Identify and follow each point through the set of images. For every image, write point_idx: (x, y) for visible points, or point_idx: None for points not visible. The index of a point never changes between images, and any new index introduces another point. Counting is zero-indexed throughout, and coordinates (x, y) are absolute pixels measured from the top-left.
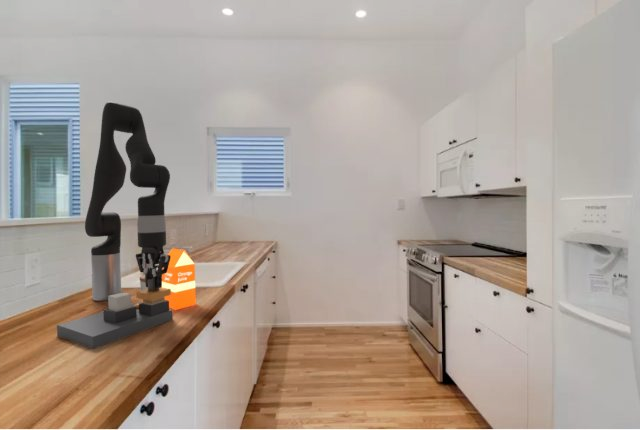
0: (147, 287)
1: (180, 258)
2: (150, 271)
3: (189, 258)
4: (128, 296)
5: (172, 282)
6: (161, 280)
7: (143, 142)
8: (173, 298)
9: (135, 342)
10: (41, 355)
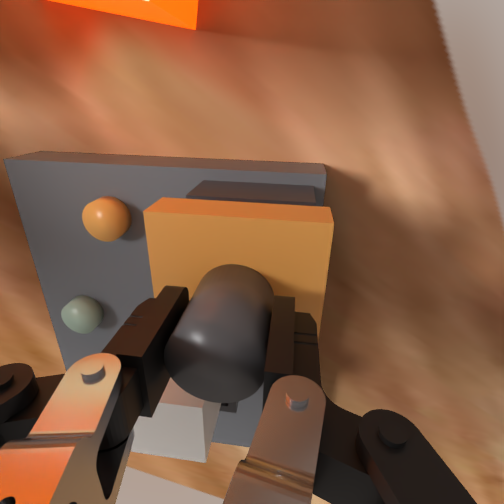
0: None
1: None
2: (118, 412)
3: None
4: (205, 408)
5: None
6: (317, 351)
7: None
8: (147, 9)
9: (378, 367)
10: (213, 459)
